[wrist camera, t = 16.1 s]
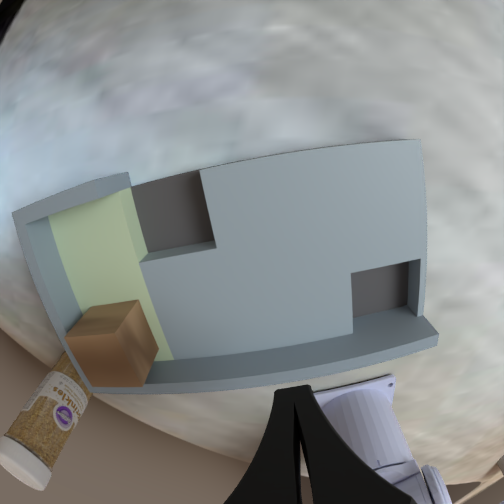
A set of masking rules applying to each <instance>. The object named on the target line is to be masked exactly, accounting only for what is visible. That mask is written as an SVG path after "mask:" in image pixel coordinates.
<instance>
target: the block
mask: <svg viewBox="0 0 504 504" xmlns="http://www.w3.org/2000/svg"><path fill="white" fill-rule="evenodd" d="M64 339H65V341H66V342H67V344H68V346H69V348H70V350H71V352H72V354H73V355H74V357H75V359H76V361H77V362H78V364H79V366H80V368H81V369H82V371H83V373H84V374H85V376H86V378H87V379H88V381H89V382H90V384H91V386H92V387H143V385H144V383H145V380H146V378H147V376H148V373H149V371H150V369H151V366H152V364H153V362H154V359H155V357H156V355H157V352H158V350H159V347H158V345H157V343H156V341H155V338H154V336H153V334H152V331H151V329H150V326H149V324H148V322H147V319H146V317H145V314H144V312H143V309H142V307H141V304H140V302H139V299H137V300H131V301H125V302H118V303H112V304H105V305H98V306H92V307H91V308H90V309H89V310H88V311H87V312H86V313H85V314H84V315H83V316H82V317H81V319H80V320H79V321H78V322H77V323H76V324H75V325H74V326H73V328H72V329H71V330H70V331H69V332H68V333H67V334H66V336H65V337H64Z"/></svg>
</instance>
